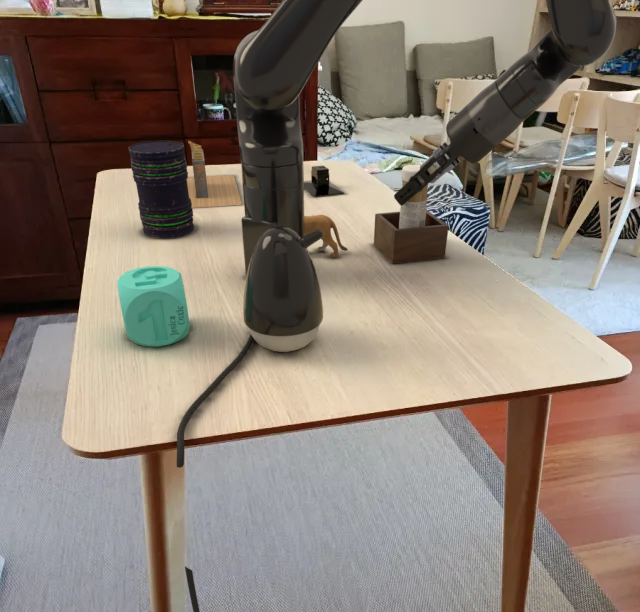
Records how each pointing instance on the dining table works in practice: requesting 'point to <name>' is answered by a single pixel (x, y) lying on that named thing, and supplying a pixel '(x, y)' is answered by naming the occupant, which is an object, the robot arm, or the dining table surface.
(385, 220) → the box
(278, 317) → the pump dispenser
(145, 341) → the decorative dice
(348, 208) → the dining table surface
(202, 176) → the ruin model on sheet
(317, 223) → the lion figurine
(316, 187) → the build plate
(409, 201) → the sprinkles bottle
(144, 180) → the dark barrel
